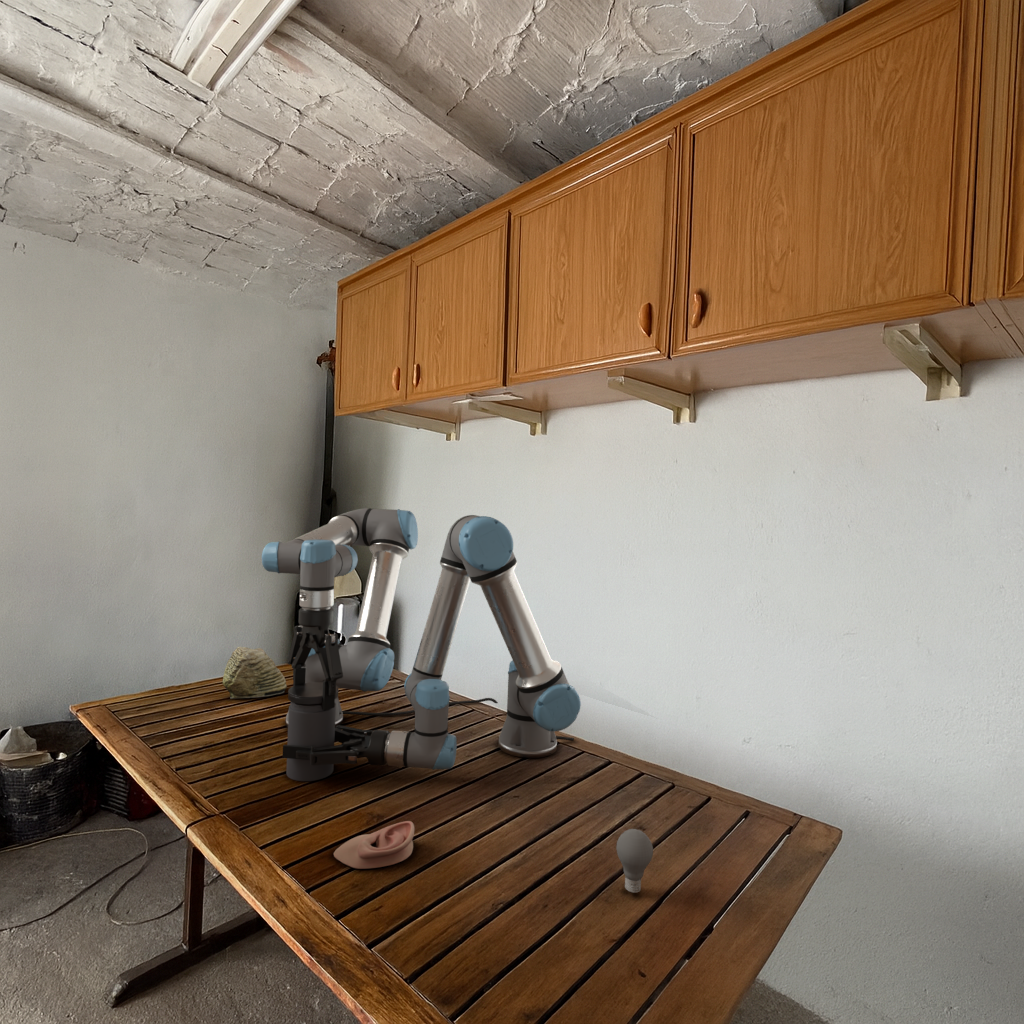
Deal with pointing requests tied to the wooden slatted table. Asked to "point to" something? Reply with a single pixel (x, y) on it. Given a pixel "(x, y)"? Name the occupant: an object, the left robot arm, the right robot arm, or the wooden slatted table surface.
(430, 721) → the right robot arm
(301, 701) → the lid
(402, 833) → the anatomical model
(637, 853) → the light bulb
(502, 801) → the wooden slatted table surface
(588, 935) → the wooden slatted table surface
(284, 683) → the fossil
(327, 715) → the jar
